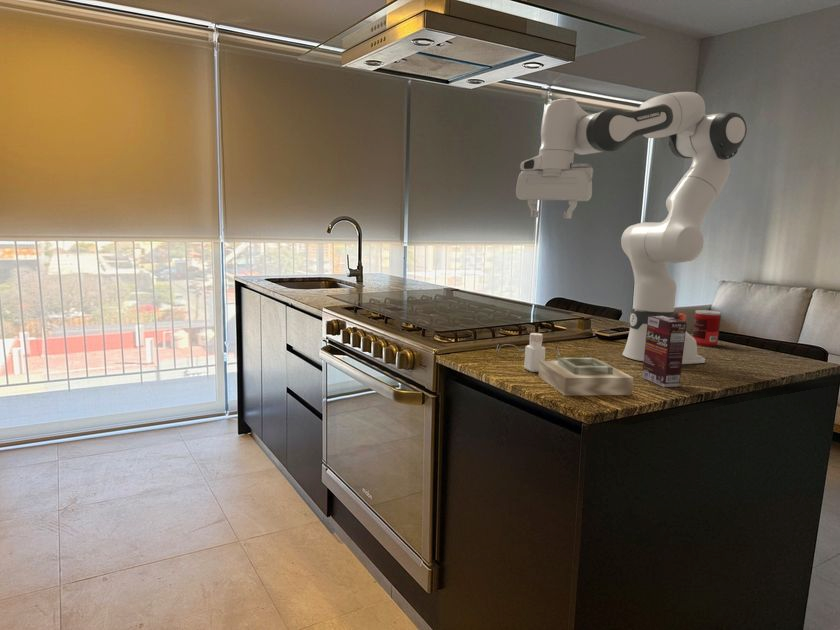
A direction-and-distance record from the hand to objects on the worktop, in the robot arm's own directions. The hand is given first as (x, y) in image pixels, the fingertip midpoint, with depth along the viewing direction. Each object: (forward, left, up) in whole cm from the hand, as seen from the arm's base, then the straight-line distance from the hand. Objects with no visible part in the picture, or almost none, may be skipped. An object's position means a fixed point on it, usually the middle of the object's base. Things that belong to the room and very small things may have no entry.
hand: (550, 218), depth 152 cm
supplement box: (-23, +20, -39) cm, 50 cm away
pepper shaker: (+5, +8, -39) cm, 40 cm away
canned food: (-67, -26, -39) cm, 82 cm away
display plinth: (-2, +22, -39) cm, 45 cm away
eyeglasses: (-1, -14, -40) cm, 42 cm away
